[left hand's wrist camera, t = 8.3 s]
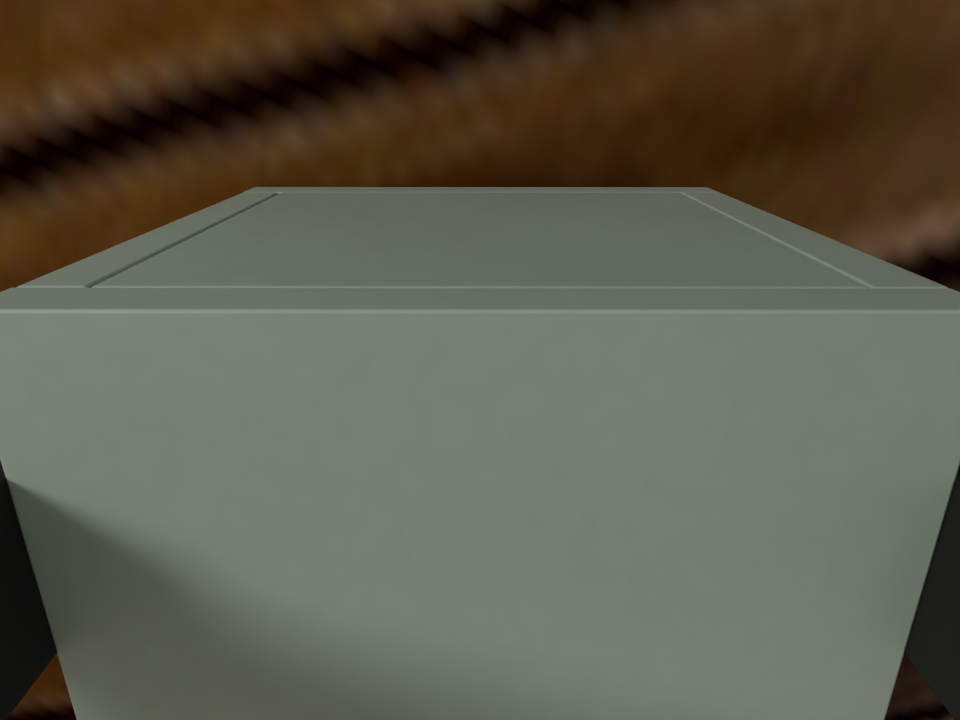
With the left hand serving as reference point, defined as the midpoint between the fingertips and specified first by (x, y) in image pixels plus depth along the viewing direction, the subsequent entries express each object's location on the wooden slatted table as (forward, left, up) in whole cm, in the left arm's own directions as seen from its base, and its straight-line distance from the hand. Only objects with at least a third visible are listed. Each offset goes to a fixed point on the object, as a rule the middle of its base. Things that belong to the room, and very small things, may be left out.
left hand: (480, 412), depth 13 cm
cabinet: (+2, +7, -6) cm, 9 cm away
